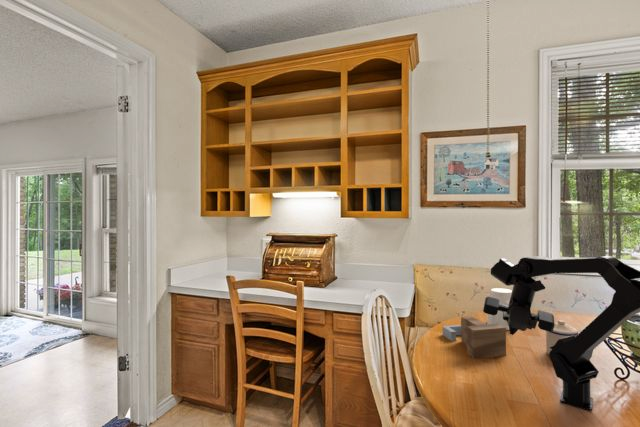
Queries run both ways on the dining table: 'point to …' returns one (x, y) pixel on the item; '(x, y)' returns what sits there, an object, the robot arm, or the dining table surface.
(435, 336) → the dining table surface
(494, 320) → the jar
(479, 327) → the tee block
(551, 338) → the teacup with lid
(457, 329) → the stop bracket
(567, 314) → the dining table surface
